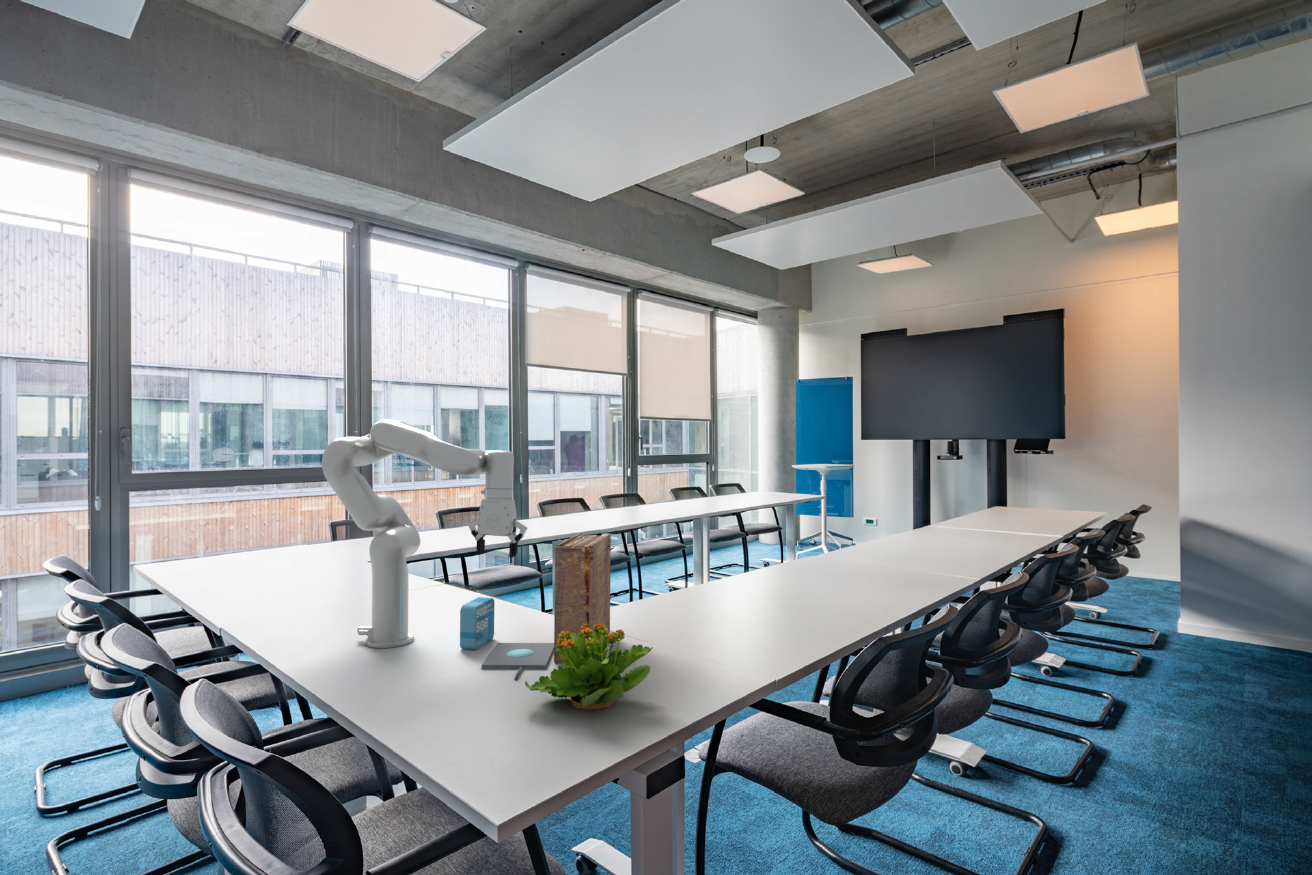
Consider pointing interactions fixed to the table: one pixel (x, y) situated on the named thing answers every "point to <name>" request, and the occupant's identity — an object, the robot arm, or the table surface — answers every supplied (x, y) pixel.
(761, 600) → the table surface
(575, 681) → the potted flower
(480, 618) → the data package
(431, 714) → the table surface
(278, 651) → the table surface
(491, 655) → the charging mat
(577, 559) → the book
